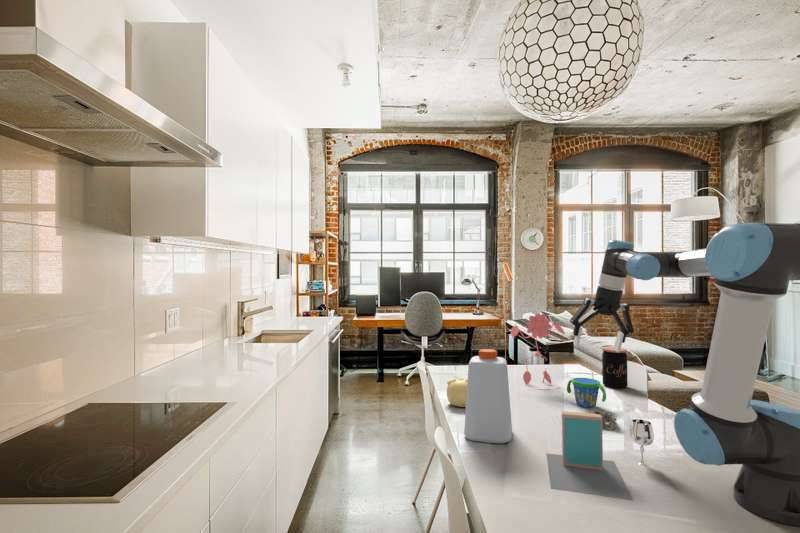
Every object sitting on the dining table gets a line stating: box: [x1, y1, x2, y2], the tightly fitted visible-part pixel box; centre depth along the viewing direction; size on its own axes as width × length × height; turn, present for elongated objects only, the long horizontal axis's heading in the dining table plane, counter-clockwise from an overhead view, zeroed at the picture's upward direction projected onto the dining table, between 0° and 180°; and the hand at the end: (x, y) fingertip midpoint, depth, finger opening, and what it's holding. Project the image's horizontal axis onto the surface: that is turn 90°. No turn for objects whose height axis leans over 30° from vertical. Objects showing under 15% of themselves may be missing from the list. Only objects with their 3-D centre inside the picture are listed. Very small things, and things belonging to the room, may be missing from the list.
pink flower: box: [510, 312, 566, 391], centre depth 198 cm, size 15×26×35 cm, turn 94°
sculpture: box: [446, 377, 468, 408], centre depth 168 cm, size 12×12×11 cm
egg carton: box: [591, 409, 617, 430], centre depth 146 cm, size 11×8×4 cm
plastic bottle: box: [463, 348, 513, 445], centre depth 136 cm, size 15×15×28 cm
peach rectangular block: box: [561, 410, 604, 470], centre depth 113 cm, size 3×10×14 cm, turn 73°
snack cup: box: [566, 377, 607, 409], centre depth 168 cm, size 16×10×10 cm
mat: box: [545, 452, 634, 501], centre depth 108 cm, size 21×18×1 cm
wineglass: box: [629, 418, 655, 466], centre depth 114 cm, size 6×6×12 cm
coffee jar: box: [601, 346, 629, 390], centre depth 197 cm, size 11×11×18 cm
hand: (596, 348), depth 138 cm, fingers open, 13 cm apart
